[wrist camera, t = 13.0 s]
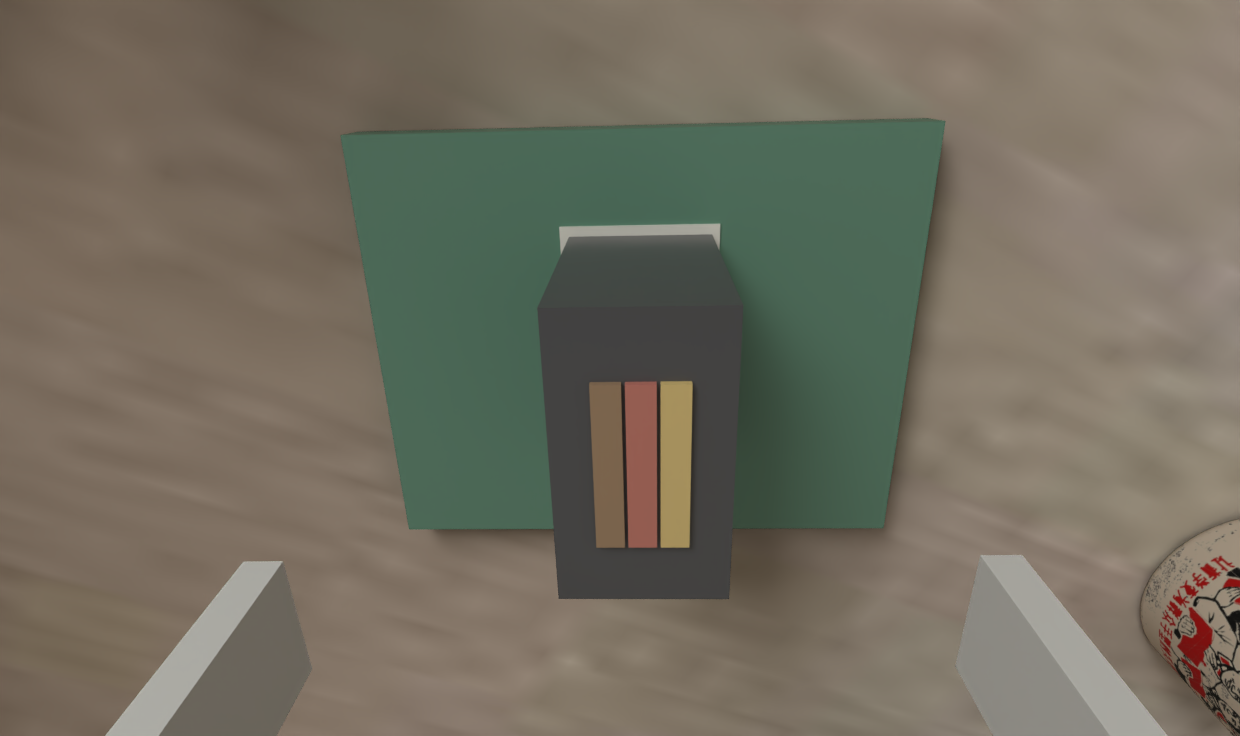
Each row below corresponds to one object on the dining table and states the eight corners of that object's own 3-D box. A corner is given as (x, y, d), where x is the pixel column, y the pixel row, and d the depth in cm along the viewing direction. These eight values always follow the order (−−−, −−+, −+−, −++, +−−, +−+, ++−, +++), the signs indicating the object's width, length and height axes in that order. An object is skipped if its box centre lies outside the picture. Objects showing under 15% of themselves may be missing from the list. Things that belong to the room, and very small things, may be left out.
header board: (419, 508, 31) (384, 576, 27) (357, 131, 24) (299, 143, 20) (872, 507, 30) (909, 576, 26) (927, 118, 24) (987, 127, 20)
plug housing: (580, 459, 28) (557, 603, 20) (568, 236, 24) (536, 310, 17) (705, 458, 27) (729, 603, 20) (712, 234, 24) (744, 308, 16)
